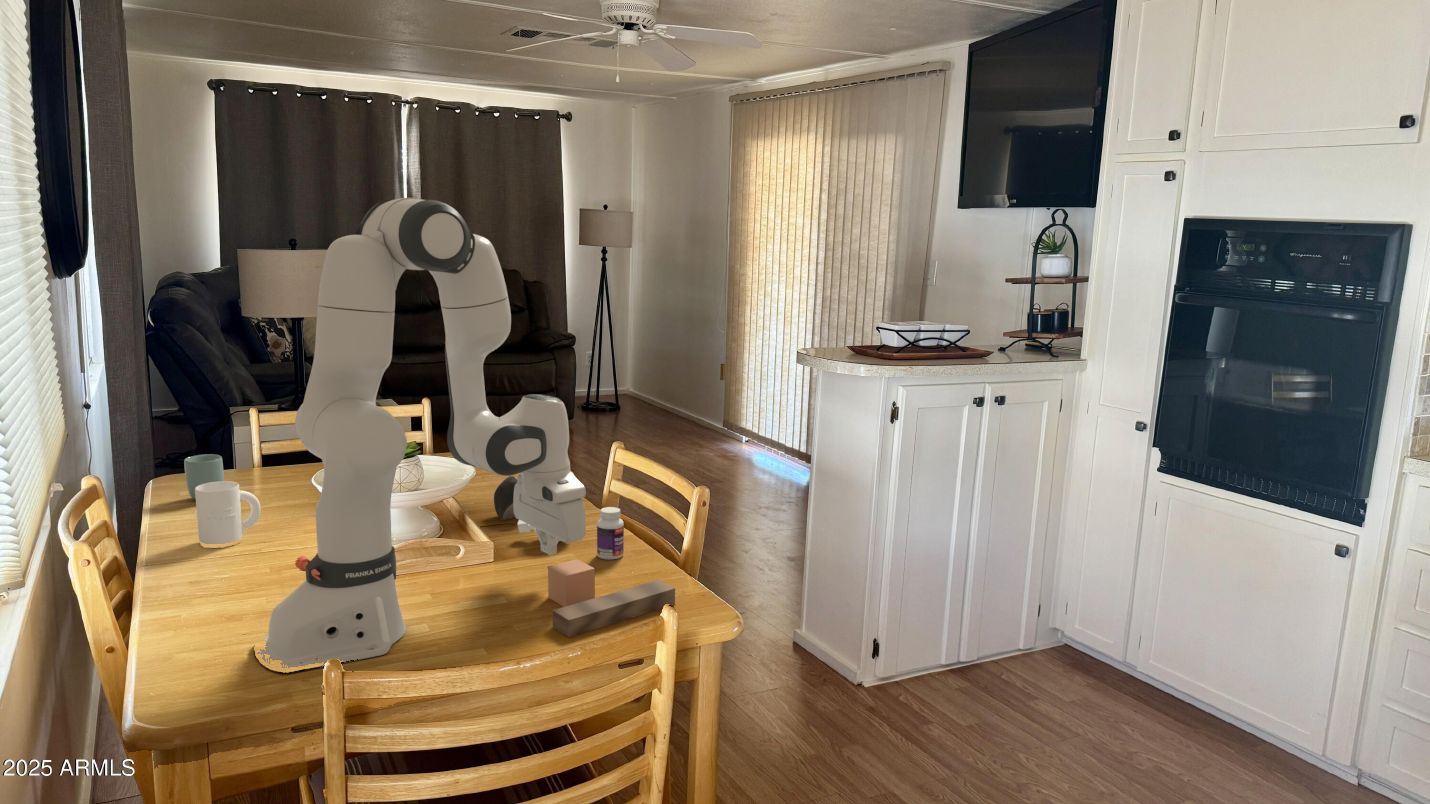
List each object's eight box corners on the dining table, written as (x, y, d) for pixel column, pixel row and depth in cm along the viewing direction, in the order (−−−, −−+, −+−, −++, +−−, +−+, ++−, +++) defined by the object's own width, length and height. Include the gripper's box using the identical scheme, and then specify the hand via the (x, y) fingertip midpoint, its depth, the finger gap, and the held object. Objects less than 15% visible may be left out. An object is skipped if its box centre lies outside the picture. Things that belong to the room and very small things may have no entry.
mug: (269, 539, 195) (265, 484, 192) (206, 551, 187) (201, 494, 184) (256, 529, 201) (252, 475, 198) (194, 541, 193) (190, 485, 190)
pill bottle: (619, 561, 186) (619, 514, 185) (593, 558, 187) (593, 512, 186) (627, 552, 192) (627, 506, 190) (602, 550, 193) (601, 504, 191)
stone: (500, 527, 212) (503, 501, 205) (486, 502, 216) (489, 476, 208) (533, 515, 216) (537, 490, 209) (518, 491, 220) (522, 465, 213)
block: (566, 608, 163) (565, 575, 162) (548, 597, 168) (547, 566, 167) (594, 600, 167) (594, 568, 166) (576, 589, 172) (576, 558, 171)
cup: (231, 497, 223) (228, 457, 221) (199, 505, 216) (195, 463, 214) (213, 492, 227) (210, 452, 225) (181, 500, 220) (177, 459, 218)
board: (568, 637, 152) (568, 620, 151) (552, 627, 155) (552, 610, 155) (675, 604, 166) (675, 588, 165) (657, 595, 170) (658, 579, 169)
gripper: (503, 472, 176) (506, 541, 179) (560, 497, 161) (562, 572, 164) (532, 466, 181) (535, 534, 183) (591, 490, 165) (593, 563, 168)
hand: (548, 552), depth 174 cm, fingers closed
